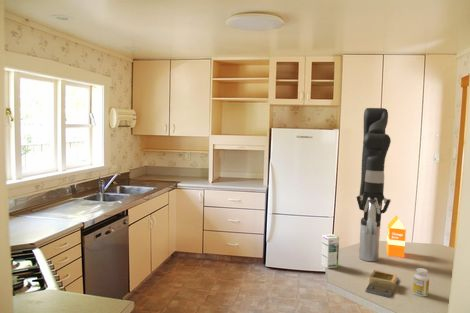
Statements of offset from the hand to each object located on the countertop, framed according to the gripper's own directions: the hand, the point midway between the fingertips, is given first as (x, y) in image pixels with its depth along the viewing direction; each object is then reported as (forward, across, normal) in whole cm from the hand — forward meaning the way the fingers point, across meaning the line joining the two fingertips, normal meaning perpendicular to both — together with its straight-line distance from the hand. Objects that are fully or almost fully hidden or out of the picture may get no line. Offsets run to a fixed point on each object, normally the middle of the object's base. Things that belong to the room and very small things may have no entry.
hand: (372, 221), depth 152 cm
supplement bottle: (+26, -20, +1) cm, 33 cm away
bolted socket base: (+26, -6, +2) cm, 26 cm away
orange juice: (+25, -3, -44) cm, 51 cm away
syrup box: (+26, +19, -6) cm, 33 cm away
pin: (+5, 0, 0) cm, 5 cm away
